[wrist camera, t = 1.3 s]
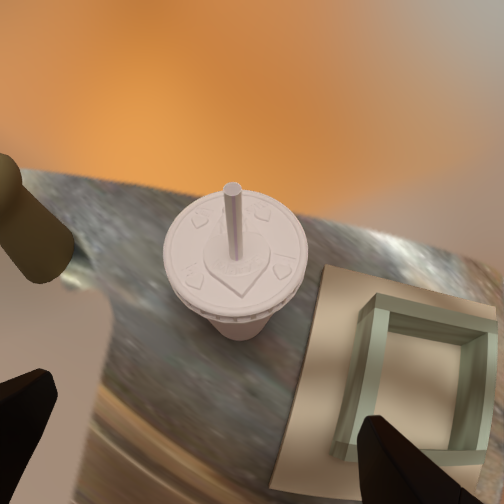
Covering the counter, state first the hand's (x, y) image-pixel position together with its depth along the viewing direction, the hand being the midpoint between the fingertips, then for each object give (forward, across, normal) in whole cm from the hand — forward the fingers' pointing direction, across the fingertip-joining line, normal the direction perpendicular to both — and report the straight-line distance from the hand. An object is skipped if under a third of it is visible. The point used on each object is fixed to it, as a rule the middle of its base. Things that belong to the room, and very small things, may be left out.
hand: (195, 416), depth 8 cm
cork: (+17, +18, +2) cm, 24 cm away
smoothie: (+14, 0, +4) cm, 15 cm away
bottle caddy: (+10, -12, +8) cm, 18 cm away
